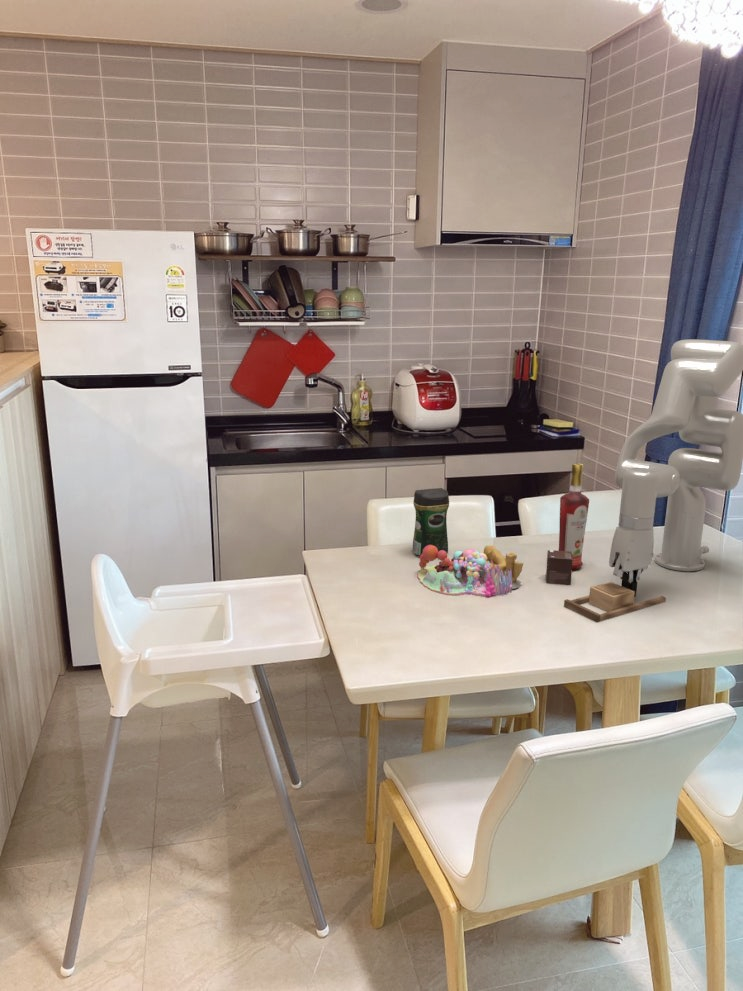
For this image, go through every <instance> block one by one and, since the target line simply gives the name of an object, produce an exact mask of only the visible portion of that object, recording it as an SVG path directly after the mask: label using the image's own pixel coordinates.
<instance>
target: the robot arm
mask: <svg viewBox="0 0 743 991" xmlns="http://www.w3.org/2000/svg"><path fill="white" fill-rule="evenodd" d="M670 360H671V361H669V362H668V363H667V364H666V366H665V367H664V369H663V373H662V376H661V380H660V384H659V387H658V391H657V395H656V398H655V400H654V404H653V408H652V411H651V415H650V417H649V418H648V419H647V420H646V421H645V422H643V423H641V425H639V426H638V427H636V429H634V430H633V431H632V432H631V434H630V435H629V436H628V437H627V439H625V441H624V443H623V445H622V447H621V451H620V453H619V456H618V459H617V463H616V467H615V471H614V472H615V473H614V480H615V483H616V485H617V487H619V488H620V489H621V498H620V506H619V508H620V509H619V516H618V526H616V529H615V531H614V534H613V537H612V542H611V546H610V552H609V560H608V565H609V567H611V568H614V569H613V572H612V574H613V576H616V577H618V578H620V580H621V585H620V586H623V587H625V588H627V589H630V590H632V591H635V594H634V598H636V597H637V589H638V582H639V581H640V579H641V575H642V573H643V572H645V570H648V569H649V566H650V565H651V564H652V561H653V555H654V543H655V540H654V521H655V512H656V503H657V498H665V497H667V503H666V512H665V519H664V527H663V537H662V544H661V552H659V553H657V554H656V555H655V556H654V562H655V563H656V564H657V565H658V566H661V567H663V568H666V569H669V570H672V571H680V572H696V571H697V572H698V571H701V570H703V569H704V568H705V563H706V562H705V560H703V559H702V558H701V556H702V555H704V554H707V553H709V552H710V547H709V546H707V545H704V546H703V545H702V538H703V530H704V524H705V523H704V522H705V517H706V516H705V514H706V510H707V501H706V497H705V496H704V493H703V491H702V490H701V488H703V489H710V490H715V491H716V490H717V491H725V492H726V491H728V492H729V491H732V490H734V489H735V488H736V487H737V486H738V484H739V481H740V478H741V475H742V474H741V473H742V468H743V467H742V466H743V413H741V412H739V411H737V410H729V409H722V408H719V406H718V403H719V397H722V396H723V395H724V394H725V393H726V392H728V390H729V389H730V388H731V387H732V385H733V384H734V382H735V381H737V379H738V378H739V376H740V375H741V373H742V372H743V344H742V343H740V342H737V341H731V340H729V341H728V340H714V339H713V340H711V339H695V338H694V339H691V338H690V339H681V340H678V341H676V342H674V343H673V344H672V346H671V349H670ZM677 432H678V435H679V438H680V440H682V441H683V442H685V443H689V444H692V445H693V444H694V445H699V446H700V445H701V446H708V447H715V448H719V449H720V450H721V452H719V451H713V450H707V449H699V448H698V449H697V448H692V447H682V448H681V447H680V448H678V449H676V450H674V451H672V453H670V455H669V457H668V460H667V464H665V463H657V462H653V461H646V460H639V459H636V457H637V456H638V453H639V452H640V450H641V449H642V448H643V447H644V446H645V445H646V444H647V443H649V442H651V441H653V440H655V439H657V438H660V437H663V436H667V435H671V434H674V433H677ZM701 545H702V546H701Z"/></svg>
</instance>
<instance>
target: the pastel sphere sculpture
mask: <svg viewBox="0 0 743 991" xmlns="http://www.w3.org/2000/svg"><path fill="white" fill-rule="evenodd" d="M517 558H518V555H517V554H516V553H515V552H509V553H506V554H505V557H504V556H503V554H502V553H501V552H500V550H498V549H497V548H496V547H495V546H494V545H485V546H484V548H483V552H479V551H477V550H474V548H472V547H471V548H470V549H466V550H465V549H464V551H461V550H457V551H455V552H454V553H453V555H452V558H451V559H450V558H448V553H446V552H445V551H444V550H441V551H439V552H438V549H437V548H436V547H435V546H433V545H427V546H426V547H425V548H424V549H423V552H422V554H421V556H419V564H418V566H419V567H420V569H419V571H418V572H417V579H418V580H419V582H420V584H422V586H423V587H424V588H427V589H428V590H430V591H431V592H434V593H438V594H441V595H443V596H444V595H445V596H452V597H457V596H462V595H463V596H464V595H472V596H475V597H481V598H485V597H486V598H490V597H492V596H495V597H497V596H502V597H503V596H504V595H506V596H507V595H508V592H509V593H512V590H514V589H517V588H519V587H521V586H522V582H521V581H520V580H518V578H519V577H520V575H521V573H522V571H523V565H524V562H519V561H516V560H517ZM436 559H438V561H439V563H438V564H433V565H430V566H427V564H429V562H433V561H435V560H436Z"/></svg>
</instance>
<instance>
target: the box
mask: <svg viewBox="0 0 743 991" xmlns="http://www.w3.org/2000/svg"><path fill="white" fill-rule="evenodd" d="M546 553H547V555H546V557H547V558H546V569H545V570H546V571H545V581H546V582H545V583H546V584H548V585H550V584H551V585H562V586H571V584H572V583H571V582H572V573H573V570H572V561H573V557H572V552H570V551H559V550H555V549H554V550H553V549H552V550H551V549H549V550H547V552H546Z"/></svg>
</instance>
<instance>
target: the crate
mask: <svg viewBox="0 0 743 991" xmlns="http://www.w3.org/2000/svg"><path fill="white" fill-rule="evenodd" d="M634 594H635V591H632V590H630V589H627V588H625V587H623V586H621V585H619V584H618V583H615V582H613V581H609V582H605V583H601V584H597V585H594V586H590V588H589V595H588V596H589V602H588V604H590V605H591V606H594V607H597V608H598V609H600V610H603V611H604V612H610V611H613V610H616V609H620V608H623V607H627V606H630V605H633V604H635V603H634V601H635V597H634Z"/></svg>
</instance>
